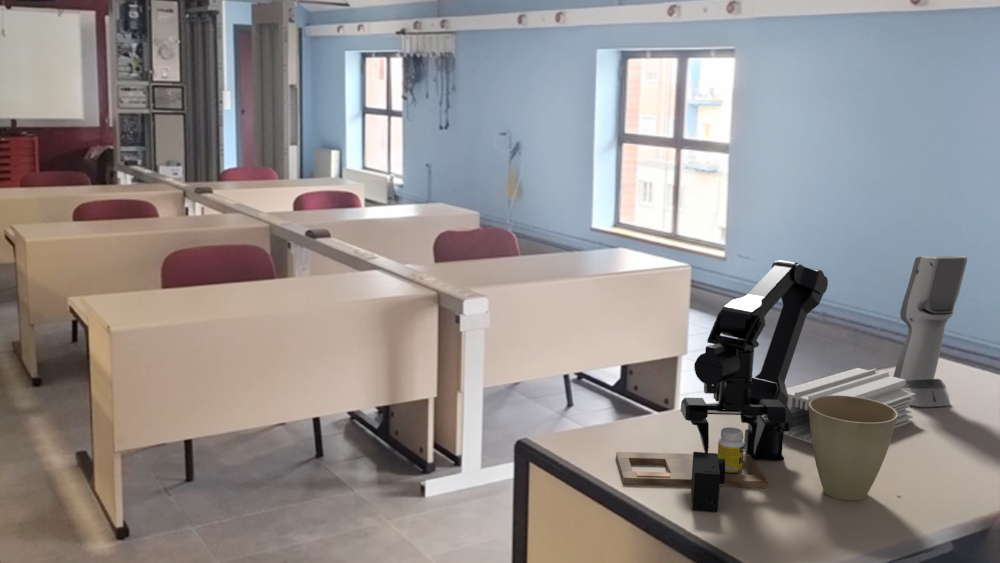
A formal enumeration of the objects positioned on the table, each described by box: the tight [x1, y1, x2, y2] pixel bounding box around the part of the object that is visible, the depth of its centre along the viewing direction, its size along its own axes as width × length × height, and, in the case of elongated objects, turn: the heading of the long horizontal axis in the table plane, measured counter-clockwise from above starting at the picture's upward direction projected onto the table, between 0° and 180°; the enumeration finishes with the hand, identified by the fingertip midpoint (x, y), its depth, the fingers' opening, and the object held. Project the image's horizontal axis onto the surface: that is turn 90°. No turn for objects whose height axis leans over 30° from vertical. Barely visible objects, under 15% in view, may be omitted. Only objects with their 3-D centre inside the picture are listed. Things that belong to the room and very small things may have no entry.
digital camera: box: [690, 451, 725, 513], centre depth 175 cm, size 10×5×7 cm, turn 171°
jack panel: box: [615, 451, 769, 489], centre depth 188 cm, size 26×13×1 cm, turn 90°
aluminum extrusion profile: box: [784, 367, 916, 444], centre depth 216 cm, size 14×31×10 cm, turn 130°
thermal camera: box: [893, 255, 968, 409], centre depth 233 cm, size 12×13×35 cm
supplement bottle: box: [717, 426, 745, 475], centre depth 187 cm, size 5×5×8 cm
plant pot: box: [809, 395, 898, 502], centre depth 179 cm, size 15×15×16 cm
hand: (730, 453), depth 188 cm, fingers open, 9 cm apart
